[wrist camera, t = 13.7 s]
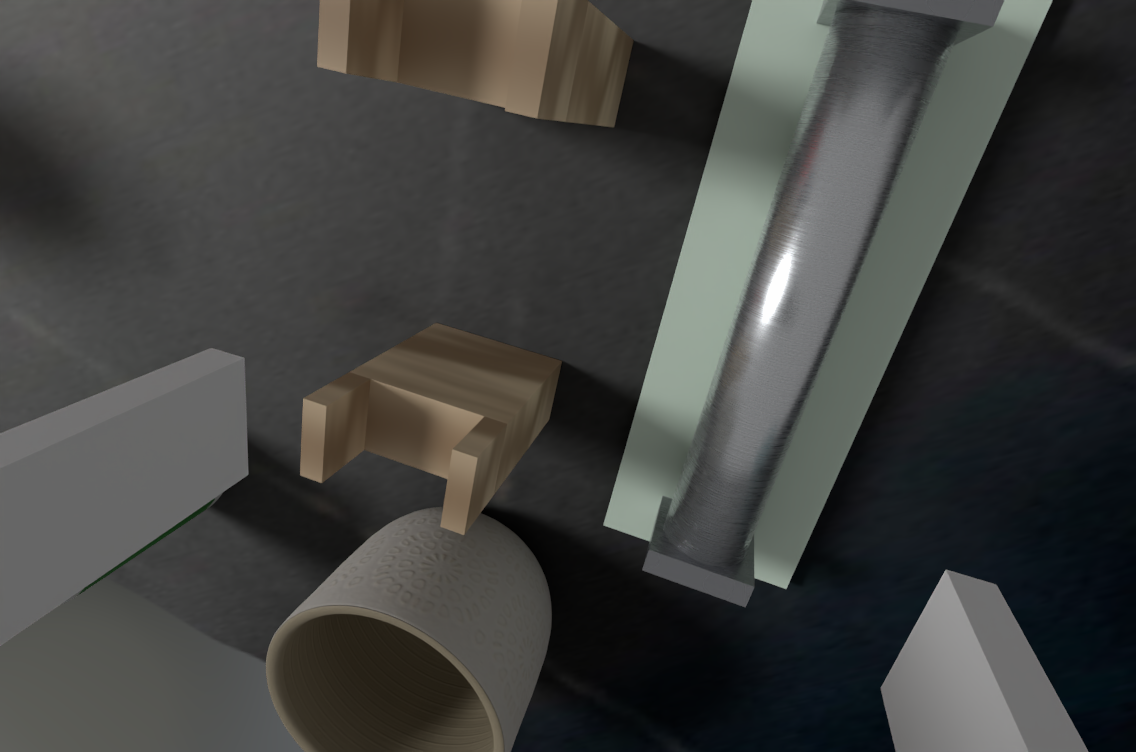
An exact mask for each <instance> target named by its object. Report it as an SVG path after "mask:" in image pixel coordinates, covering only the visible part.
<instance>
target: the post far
mask: <svg viewBox="0 0 1136 752" xmlns="http://www.w3.org/2000/svg"><path fill="white" fill-rule="evenodd" d="M561 364H562V361H560V360H557V359H554V358H550V357H547V356H544V355H540V354H537V353H534V352H531V351H527V350H524V349H521V348H518V347H514V346H511V345H508V344H504V343H501V342H498V341H495V340H491V339H488V338H485V337H481V336H478V335H475V334H472V333H468V332H465V331H462V330H459V329H455V328H452V327H449V326H445V325H442V324H439V323H435V324H433V325H432V326H430V327H428V328H426V329H425V330H423V331H421V332H419V333H417V334H416V335H414V336H412V337H410V338H409V339H407V340H405V341H403V342H402V343H400V344H398V345H396V346H395V347H393V348H391V349H389V350H388V351H386V352H384V353H382V354H380V355H379V356H377V357H375V358H373V359H372V360H370V361H368V362H366V363H365V364H363V365H361V366H359V367H358V368H356V369H354V370H352V371H351V372H349V373H347V374H345V375H343V376H342V377H340V378H338V379H336V380H335V381H333V382H331V383H329V384H328V385H326V386H324V387H322V388H321V389H319V390H317V391H315V392H314V393H312V394H310V395H308V396H306V397H305V398H303V417H302V441H301V465H300V475H301V476H303V477H306V478H309V479H312V480H314V481H317V482H320V483H323V482H324V481H325V480H327V479H328V478H329V477H330V476H332V475H333V474H334V473H336V472H337V471H338V470H339V469H341V468H342V467H343V466H344V465H346V464H347V463H348V462H349V461H351V460H352V459H353V458H355V457H356V456H357V455H358V454H360V453H361V452H362V451H363V450H366V451H369V452H372V453H375V454H378V455H381V456H383V457H386V458H389V459H392V460H395V461H398V462H401V463H403V464H406V465H409V466H412V467H415V468H418V469H420V470H423V471H426V472H429V473H432V474H435V475H438V476H440V477H443V478H446V479H448V480H447V487H446V493H445V500H444V506H443V512H442V519H441V525H440V527H443V528H445V529H448V530H451V531H454V532H456V533H459V534H462V535H465V533H466V532H467V531H468V529H469V528H470V527H471V525H472V524H473V523H474V521H475V520H476V518H477V517H478V516H479V514H480V513H481V512H482V510H483V509H484V508H485V506H486V505H487V504H488V502H489V501H490V499H491V498H492V497H493V495H494V494H495V493H496V491H497V490H498V489H499V487H500V486H501V484H502V483H503V482H504V480H505V479H506V478H507V476H508V475H509V474H510V472H511V471H512V470H513V468H514V467H515V465H516V464H517V463H518V461H519V460H520V459H521V457H522V456H523V455H524V453H525V452H526V450H527V449H528V448H529V446H530V445H531V444H532V442H533V441H534V440H535V438H536V437H537V436H538V434H539V433H540V431H541V430H542V429H543V427H544V426H545V425H546V423H547V422H548V421H549V418H550V414H551V409H552V405H553V400H554V396H555V391H556V387H557V382H558V378H559V373H560V369H561Z"/></svg>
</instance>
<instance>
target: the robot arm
mask: <svg viewBox="0 0 1136 752" xmlns="http://www.w3.org/2000/svg"><path fill="white" fill-rule="evenodd" d="M247 475H249V474H248V445H247V416H246V388H245V359H244V358H243V357H240V356H236V355H233V354H230V353H226V352H223V351H220V350H216V349H213V348H210V349H207V350H205V351H203V352H200V353H198V354H195V355H193V356H190V357H188V358H185V359H183V360H180V361H178V362H175V363H173V364H170V365H168V366H166V367H163V368H161V369H158V370H156V371H153V372H151V373H148V374H146V375H143V376H141V377H138V378H136V379H133V380H131V381H129V382H126V383H124V384H121V385H119V386H116V387H114V388H111V389H109V390H106V391H104V392H101V393H99V394H96V395H94V396H91V397H89V398H87V399H84V400H82V401H79V402H77V403H74V404H72V405H69V406H67V407H64V408H62V409H59V410H57V411H54V412H52V413H50V414H47V415H45V416H42V417H40V418H37V419H35V420H32V421H30V422H27V423H25V424H22V425H20V426H17V427H15V428H12V429H10V430H8V431H5V432H3V433H0V646H1V645H2V644H4V643H5V642H7V641H8V640H10V639H11V638H12V637H14V636H15V635H17V634H18V633H20V632H21V631H22V630H24V629H25V628H27V627H28V626H30V625H31V624H33V623H34V622H36V621H37V620H39V619H40V618H41V617H43V616H44V615H46V614H47V613H49V612H50V611H52V610H53V609H55V608H56V607H57V606H59V605H60V604H62V603H63V602H65V601H66V600H68V599H69V598H71V597H72V596H73V595H75V594H76V593H78V592H79V591H81V590H82V589H84V588H85V587H86V586H88V585H89V584H91V583H92V582H94V581H95V580H97V579H98V578H99V577H101V576H102V575H104V574H105V573H107V572H108V571H110V570H111V569H113V568H114V567H115V566H117V565H118V564H120V563H121V562H123V561H124V560H126V559H127V558H128V557H130V556H131V555H133V554H134V553H136V552H137V551H139V550H140V549H142V548H143V547H144V546H146V545H147V544H149V543H150V542H152V541H153V540H155V539H156V538H157V537H159V536H160V535H162V534H163V533H165V532H166V531H168V530H169V529H171V528H172V527H173V526H175V525H176V524H178V523H179V522H181V521H182V520H184V519H185V518H186V517H188V516H189V515H191V514H192V513H194V512H195V511H197V510H198V509H200V508H201V507H202V506H204V505H205V504H207V503H208V502H210V501H211V500H213V499H214V498H215V497H217V496H218V495H220V494H221V493H223V492H224V491H226V490H227V489H228V488H230V487H231V486H233V485H234V484H236V483H237V482H239V481H240V480H242V479H243V478H244V477H246V476H247ZM881 692H882V696H883V700H884V704H885V709H886V713H887V717H888V721H889V725H890V729H891V733H892V738H893V742H894V746H895V750H896V752H1088V750H1087V748H1086V746H1085V745H1084V743H1083V741H1082V739H1081V737H1080V736H1079V734H1078V732H1077V730H1076V728H1075V727H1074V725H1073V723H1072V721H1071V719H1070V717H1069V716H1068V714H1067V712H1066V710H1065V708H1064V707H1063V705H1062V703H1061V701H1060V699H1059V697H1058V696H1057V694H1056V692H1055V690H1054V688H1053V687H1052V685H1051V683H1050V681H1049V679H1048V678H1047V676H1046V674H1045V672H1044V670H1043V668H1042V667H1041V665H1040V663H1039V661H1038V659H1037V658H1036V656H1035V654H1034V652H1033V650H1032V648H1031V647H1030V645H1029V643H1028V641H1027V639H1026V638H1025V636H1024V634H1023V632H1022V630H1021V629H1020V627H1019V625H1018V623H1017V621H1016V619H1015V618H1014V616H1013V614H1012V612H1011V610H1010V609H1009V607H1008V605H1007V603H1006V601H1005V599H1004V598H1003V596H1002V594H1001V592H1000V590H999V589H998V587H997V585H995V584H992V583H989V582H985V581H982V580H979V579H975V578H972V577H969V576H966V575H962V574H959V573H956V572H952V571H949V570H945V572H944V574H943V576H942V577H941V579H940V581H939V583H938V585H937V587H936V588H935V590H934V592H933V594H932V596H931V597H930V599H929V601H928V603H927V605H926V607H925V608H924V610H923V612H922V614H921V616H920V617H919V619H918V621H917V623H916V625H915V627H914V628H913V630H912V632H911V634H910V636H909V637H908V639H907V641H906V643H905V645H904V647H903V648H902V650H901V652H900V654H899V656H898V657H897V659H896V661H895V663H894V665H893V667H892V668H891V670H890V672H889V674H888V676H887V677H886V679H885V681H884V683H883V685H882V687H881Z"/></svg>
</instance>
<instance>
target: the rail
mask: <svg viewBox="0 0 1136 752" xmlns="http://www.w3.org/2000/svg"><path fill="white" fill-rule="evenodd" d="M1003 3H1004V0H824V1H823V4H822V7H821V10H820V13H819V16H818V19H817V22H816V23H818V24H823V25H828V26H830V28H829V31H828V34H827V37H826V40H825V43H824V46H823V49H822V52H821V55H820V58H819V61H818V64H817V67H816V70H815V73H814V76H813V79H812V82H811V85H810V88H809V91H808V94H807V97H806V100H805V103H804V106H803V109H802V112H801V115H800V118H799V121H798V124H797V127H796V130H795V133H794V136H793V139H792V142H791V145H790V148H789V151H788V154H787V157H786V160H785V163H784V166H783V169H782V172H781V175H780V178H779V181H778V184H777V187H776V190H775V193H774V196H773V199H772V202H771V205H770V208H769V211H768V214H767V217H766V220H765V223H764V226H763V229H762V232H761V235H760V238H759V241H758V244H757V247H756V250H755V253H754V256H753V259H752V262H751V265H750V268H749V271H748V274H747V277H746V280H745V283H744V286H743V289H742V292H741V295H740V298H739V301H738V304H737V307H736V310H735V313H734V316H733V319H732V322H731V325H730V328H729V331H728V334H727V337H726V340H725V343H724V346H723V349H722V352H721V355H720V358H719V361H718V364H717V367H716V370H715V373H714V376H713V379H712V382H711V385H710V388H709V391H708V394H707V397H706V400H705V403H704V406H703V409H702V412H701V415H700V418H699V421H698V424H697V427H696V430H695V433H694V436H693V439H692V442H691V445H690V448H689V451H688V454H687V457H686V460H685V463H684V466H683V469H682V472H681V475H680V478H679V481H678V484H677V487H676V490H675V493H674V496H673V499H672V498H669V497H666V496H662V499H661V502H660V505H659V508H658V512H657V515H656V519H655V522H654V526H653V530H652V534H651V538H650V542H649V546H648V550H647V553H646V557H645V561H644V565H643V569H642V570H643V571H646V572H648V573H651V574H654V575H657V576H659V577H662V578H665V579H668V580H671V581H673V582H676V583H679V584H682V585H685V586H687V587H690V588H693V589H696V590H699V591H701V592H704V593H707V594H710V595H712V596H715V597H718V598H721V599H724V600H726V601H729V602H732V603H735V604H738V605H740V606H743V607H746V605H747V603H748V601H749V598H750V596H751V594H752V591H753V589H754V532H755V530H756V528H757V525H758V523H759V520H760V518H761V515H762V513H763V510H764V508H765V505H766V503H767V501H768V498H769V496H770V493H771V491H772V488H773V486H774V483H775V481H776V478H777V476H778V474H779V471H780V469H781V466H782V464H783V461H784V459H785V456H786V454H787V452H788V449H789V447H790V444H791V442H792V439H793V437H794V434H795V432H796V429H797V427H798V425H799V422H800V420H801V417H802V415H803V412H804V410H805V407H806V405H807V403H808V400H809V398H810V395H811V393H812V390H813V388H814V385H815V383H816V380H817V378H818V376H819V373H820V371H821V368H822V366H823V363H824V361H825V358H826V356H827V354H828V351H829V349H830V346H831V344H832V341H833V339H834V336H835V334H836V331H837V329H838V327H839V324H840V322H841V319H842V317H843V314H844V312H845V309H846V307H847V304H848V302H849V300H850V297H851V295H852V292H853V290H854V287H855V285H856V282H857V280H858V278H859V275H860V273H861V270H862V268H863V265H864V263H865V260H866V258H867V255H868V253H869V251H870V248H871V246H872V243H873V241H874V238H875V236H876V233H877V231H878V229H879V226H880V224H881V221H882V219H883V216H884V214H885V211H886V209H887V206H888V204H889V202H890V199H891V197H892V194H893V192H894V189H895V187H896V184H897V182H898V180H899V177H900V175H901V172H902V170H903V167H904V165H905V162H906V160H907V157H908V155H909V153H910V150H911V148H912V145H913V143H914V140H915V138H916V135H917V133H918V130H919V128H920V126H921V123H922V121H923V118H924V116H925V113H926V111H927V108H928V106H929V104H930V101H931V99H932V96H933V94H934V91H935V89H936V86H937V84H938V81H939V79H940V77H941V74H942V72H943V69H944V67H945V64H946V62H947V59H948V57H949V55H950V52H951V50H952V47H953V46H954V45H956V44H958V43H960V42H962V41H965V40H967V39H969V38H971V37H973V36H975V35H977V34H979V33H981V32H983V31H985V30H987V29H989V28H991V27H993V26H994V24H995V21H996V19H997V17H998V14H999V12H1000V10H1001V7H1002V5H1003Z"/></svg>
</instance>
